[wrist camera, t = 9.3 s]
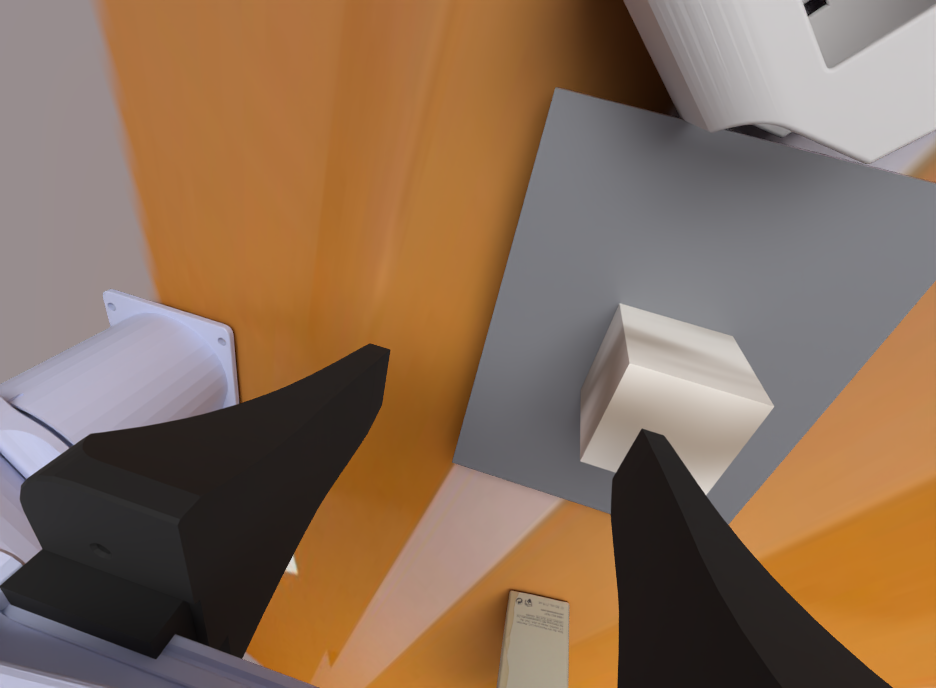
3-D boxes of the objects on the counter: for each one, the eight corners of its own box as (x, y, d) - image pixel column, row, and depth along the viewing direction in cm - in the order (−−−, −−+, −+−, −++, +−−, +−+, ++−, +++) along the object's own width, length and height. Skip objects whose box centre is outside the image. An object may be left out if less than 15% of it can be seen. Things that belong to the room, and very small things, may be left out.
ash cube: (679, 420, 20) (702, 500, 16) (580, 389, 20) (579, 461, 16) (732, 336, 17) (774, 406, 14) (619, 303, 18) (629, 362, 14)
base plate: (701, 514, 25) (709, 546, 23) (460, 437, 26) (452, 462, 24) (956, 187, 15) (1002, 201, 14) (558, 87, 16) (555, 87, 15)
